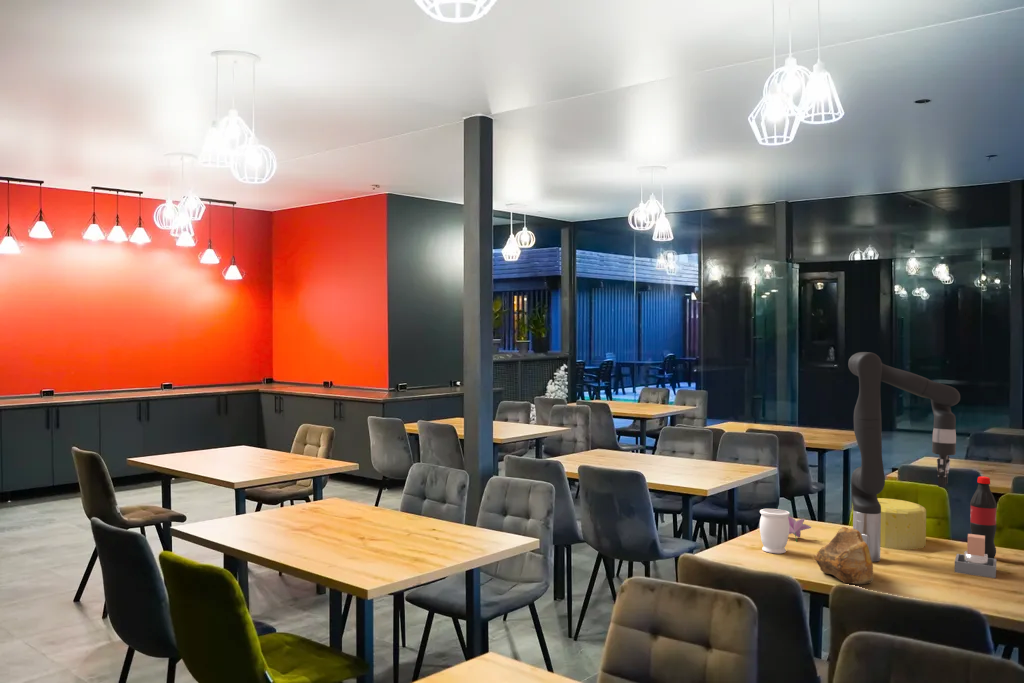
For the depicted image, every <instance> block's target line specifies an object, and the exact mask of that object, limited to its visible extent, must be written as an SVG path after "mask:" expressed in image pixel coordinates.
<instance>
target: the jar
mask: <svg viewBox="0 0 1024 683" xmlns="http://www.w3.org/2000/svg"><path fill="white" fill-rule="evenodd" d="M759 513H760V514H761V516H760V519H759V533H760V540H761V543H762V545H763V546H762V548H761V550H762V551H763V552H766V553H769V554H779V555H780V554H785V553H786V552H787V550H786V546H787V544H788V539H789V535H790V534H789V520H788V516H790V512H789V511H787V510H785V509H780V508H779V509H777V508H763V509H762V508H761V509H760V510H759Z"/></svg>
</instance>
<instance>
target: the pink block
mask: <svg viewBox="0 0 1024 683" xmlns="http://www.w3.org/2000/svg"><path fill="white" fill-rule="evenodd" d="M966 549H967V550H966V551H967V554H971V555H978V556H984V554H985V536H983V535H975V534H971V533H967V548H966Z"/></svg>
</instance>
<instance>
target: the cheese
mask: <svg viewBox="0 0 1024 683" xmlns="http://www.w3.org/2000/svg"><path fill="white" fill-rule="evenodd" d="M877 499H878V502H879V503H880V505H881V540H880V548H884V549H893V550H919V549H922V547H923V548H925V547H926V546H927V544H926V542H927V529H926V528H927V509H926V508H925V507H924V506H922V505H920V504H919V503H915V502H911V501H907V500H902V499H896V498H883V497H881V498H880V497H877ZM924 546H925V547H924ZM918 548H919V549H918Z"/></svg>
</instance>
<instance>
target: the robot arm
mask: <svg viewBox="0 0 1024 683" xmlns="http://www.w3.org/2000/svg"><path fill="white" fill-rule="evenodd" d="M847 365H848V369H849V371H850V372H851V373H852V374H853V375H854V376H856V377H858V383H859V384H858V385H859V390H858V397H857V399H856V404H855V406H854V410H853V430H854V431H853V432H854V436H855V439H856V443H857V446H858V448H859V452H860V458H861V459H860V460H861V466H858V467H857V468H855V469H854V470H853V472H852V474H851V479H850V488H851V490H850V492H851V493H850V494H851V499H850V500H851V503H852V505H853V509H852V510H853V511H852V512H853V513H852V515H853V516H852V517H853V518H852V519H853V520H852V529H856V530H858V531H859V532H860V533H861V535H862V538H863V540H864V541H865V543H866V544H867V545H868V548H869V551H870V556H871V561H872V563H874V562H879V561H881V547H880V540H881V505H880V503H879V502H878V499H877V498H878V495H879V494H881V493H882V491H883V490H884V488H885V484H886V477H885V470H884V464H883V447H882V446H883V445H882V443H883V442H882V436H883V435H882V430H883V429H882V425H883V424H882V410H881V409H882V408H881V407H882V406H881V401H882V400H881V384H882V382H883V383H885V384H888V385H890V386H893V387H895V388H898V389H899V390H902V391H905V392H908V393H910V394H913V395H915V396H918V397H921V398H923V399H924V398H925V399H930V403H931V409H932V413H933V431H932V441H931V442H932V443H931V444H932V447H931V452H932V454H934V455H939V457H937V459H936V470H937V473H936V475H937V478H938V479H937V486H938V487H939V488H945V487H946V485H947V484H948V480H949V478H948V477H949V473H950V472H949V471H950V467H951V466H950V465H951V459H950V458H951V457H950V456H956V454H957V453H956V452H957V451H956V449H957V448H956V447H957V434H956V426H957V425H956V424H957V422H956V419H957V418H956V415H955V413H953V412H952V408H951V407H953V406H954V407H955V405H957V404H958V403H959V402H960V401H961V394H960V392H959V391H958V389H956V388H955V387H953V386H950V385H947V384H945V383H940V382H938V381H937V382H936V381H934V380H931V379H929V378H927V377H924V376H922V375H918V374H916V373H914V372H910V371H907V370H903V369H900V368H897V367H896V368H895V367H892V366H889V365H886V364H884V363H883V362H882V359H881V358H880V356H879V355H877V354H876V353H874V352H870V351H869V352H867V351H859V352H856V353H854V354H852V355H851V356H850V358H849V359H848V364H847Z"/></svg>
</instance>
